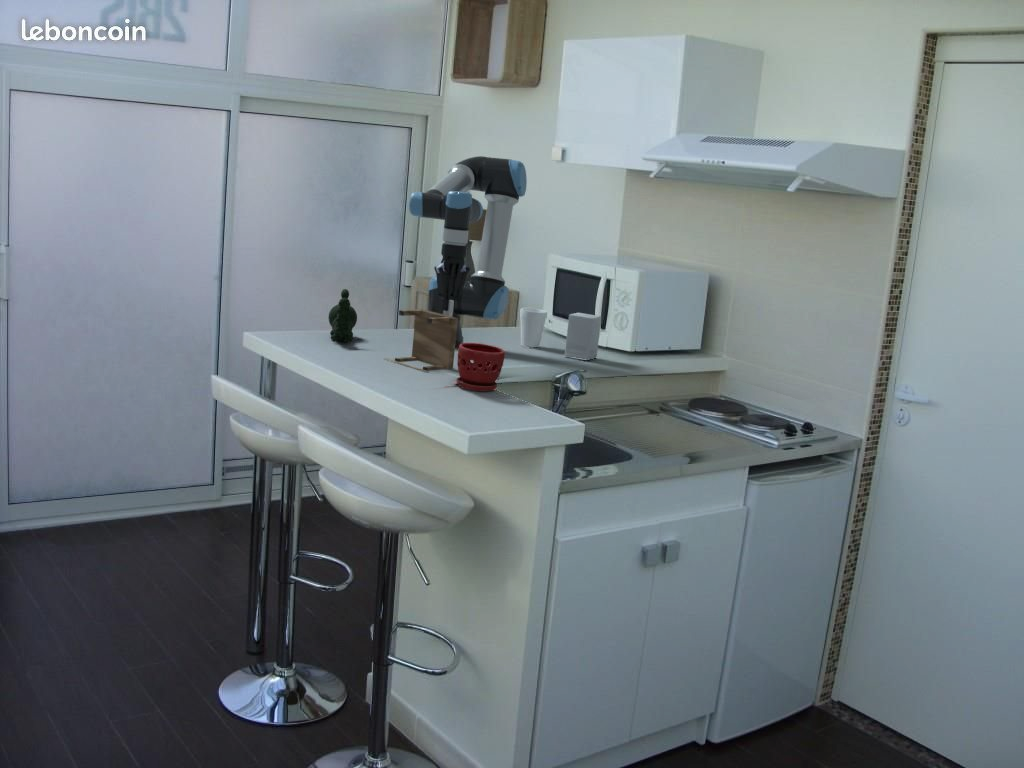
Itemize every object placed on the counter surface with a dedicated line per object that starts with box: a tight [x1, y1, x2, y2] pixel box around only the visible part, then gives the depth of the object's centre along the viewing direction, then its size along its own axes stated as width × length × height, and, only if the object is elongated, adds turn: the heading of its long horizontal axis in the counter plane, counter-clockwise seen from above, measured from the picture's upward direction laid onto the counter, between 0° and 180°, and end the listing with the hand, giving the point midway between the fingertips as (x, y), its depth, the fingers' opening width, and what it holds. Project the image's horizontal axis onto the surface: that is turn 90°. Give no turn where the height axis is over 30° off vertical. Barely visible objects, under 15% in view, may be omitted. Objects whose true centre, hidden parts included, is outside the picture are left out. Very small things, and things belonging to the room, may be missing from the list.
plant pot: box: [456, 342, 506, 392], centre depth 311 cm, size 13×13×12 cm
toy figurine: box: [327, 288, 358, 343], centre depth 363 cm, size 9×19×25 cm
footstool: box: [394, 308, 458, 371], centre depth 331 cm, size 10×16×16 cm, turn 47°
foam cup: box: [519, 307, 548, 348], centre depth 389 cm, size 10×9×13 cm
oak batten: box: [383, 358, 430, 373], centre depth 328 cm, size 2×19×1 cm, turn 47°
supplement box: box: [564, 312, 602, 361], centre depth 378 cm, size 9×9×15 cm
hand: (447, 321), depth 336 cm, fingers closed
